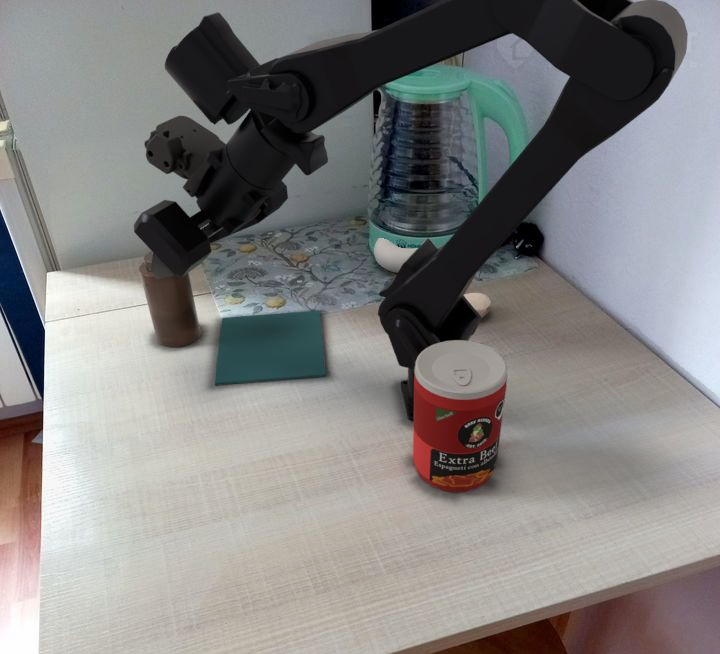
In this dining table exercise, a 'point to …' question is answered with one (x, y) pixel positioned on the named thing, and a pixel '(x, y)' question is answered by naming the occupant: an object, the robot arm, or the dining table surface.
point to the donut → (391, 254)
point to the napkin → (270, 348)
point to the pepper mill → (170, 306)
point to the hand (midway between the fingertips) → (182, 256)
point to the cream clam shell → (479, 302)
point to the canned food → (458, 413)
